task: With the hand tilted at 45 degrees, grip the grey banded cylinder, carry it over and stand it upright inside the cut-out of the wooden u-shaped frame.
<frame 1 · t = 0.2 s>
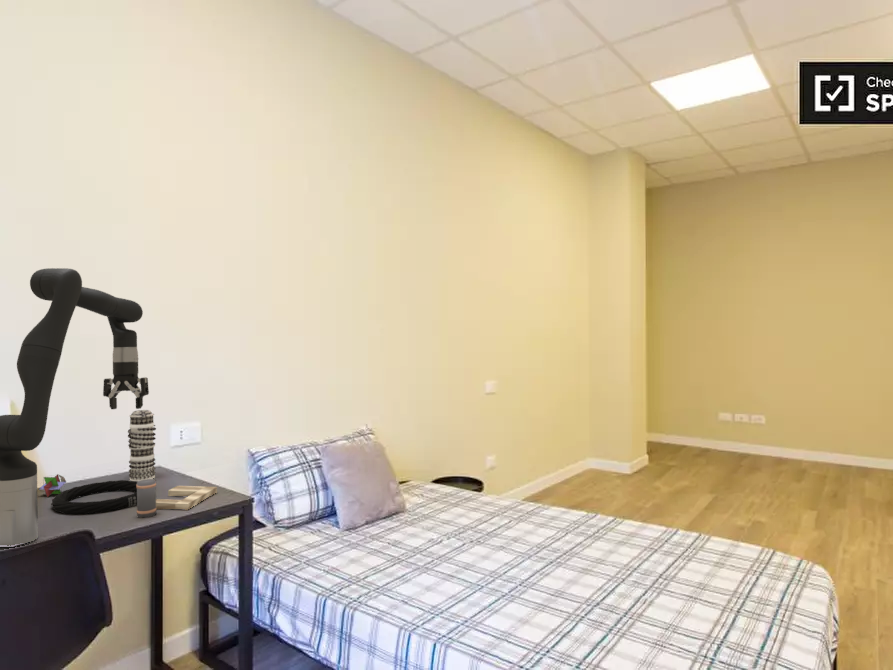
hand: (126, 408, 191), 28 cm above the table, tool pointing down, fingers open, 8 cm apart
geometric puzzle: (52, 495, 189), on the table
grey banded cylinder: (146, 514, 169), on the table
cable lock: (106, 502, 182), on the table
wooden u-shaped frame: (182, 500, 183), on the table
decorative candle: (142, 479, 209), on the table
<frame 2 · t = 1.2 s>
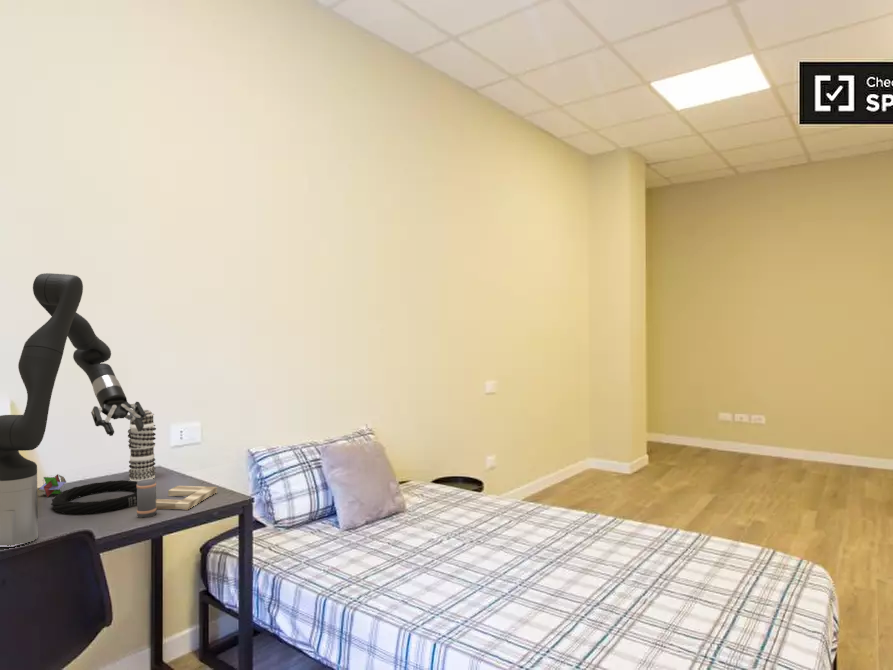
hand: (126, 432, 176), 24 cm above the table, tool tilted 45°, fingers open, 8 cm apart
nothing on the table moved.
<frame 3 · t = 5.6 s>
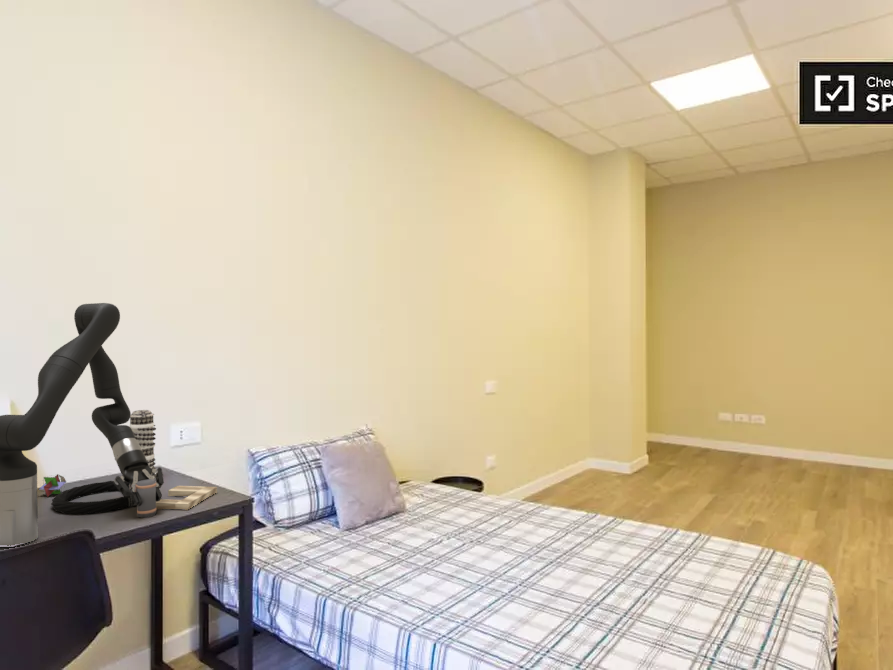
hand: (149, 502, 168), 4 cm above the table, tool tilted 45°, fingers closed on grey banded cylinder, 5 cm apart
grey banded cylinder: (146, 514, 169), on the table, touching gripper
everything else where it was.
when the fingers open (6 cm above the table, at t = 10.0 s): grey banded cylinder drops 1 cm, on the table.
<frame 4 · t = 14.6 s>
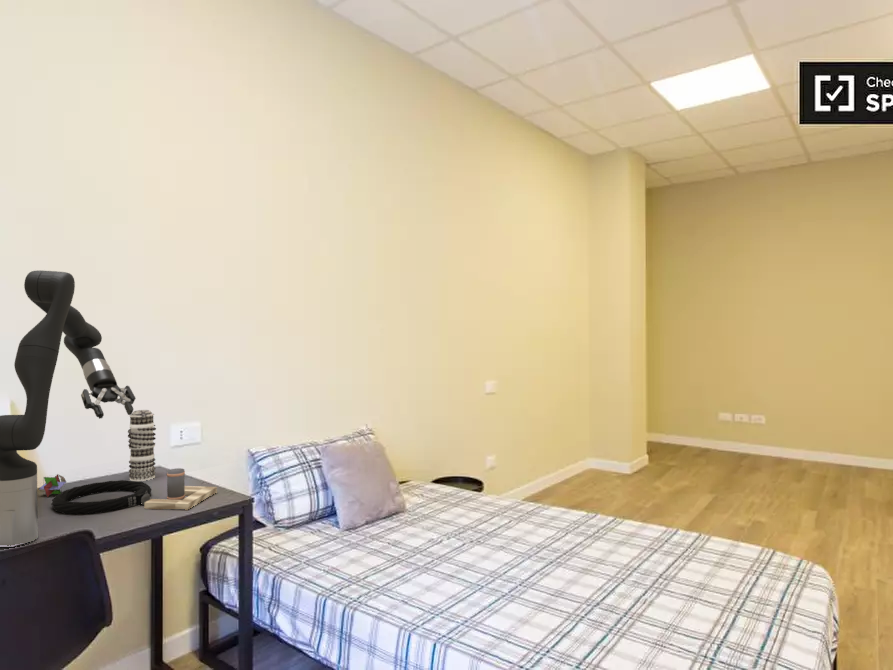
hand: (116, 415, 176), 29 cm above the table, tool tilted 45°, fingers open, 8 cm apart
grey banded cylinder: (176, 501, 182), on the table
everything else where it was.
at the end: grey banded cylinder 0.4 cm from the target spot on the wooden u-shaped frame, point 0.0 cm above the wooden u-shaped frame's base; grey banded cylinder tilted 0°; the gripper is holding nothing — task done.
